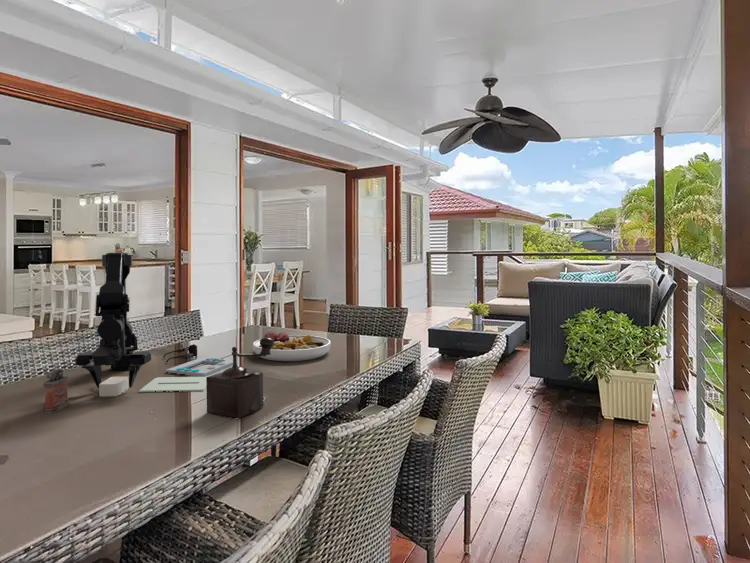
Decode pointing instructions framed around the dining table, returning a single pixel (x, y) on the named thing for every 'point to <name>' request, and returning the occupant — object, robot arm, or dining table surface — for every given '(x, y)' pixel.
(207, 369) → the electronic device
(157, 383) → the mat
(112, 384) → the block
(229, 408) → the manual coffee grinder
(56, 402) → the lighter
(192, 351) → the sunglasses
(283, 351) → the bowl
